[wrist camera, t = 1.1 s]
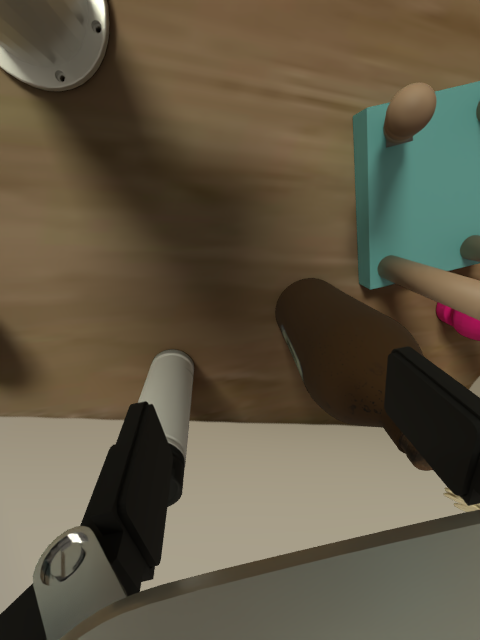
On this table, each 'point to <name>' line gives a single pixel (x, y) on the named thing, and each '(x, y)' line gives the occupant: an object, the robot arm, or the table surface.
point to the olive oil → (344, 354)
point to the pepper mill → (459, 321)
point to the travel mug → (172, 407)
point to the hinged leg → (408, 113)
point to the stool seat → (421, 201)
